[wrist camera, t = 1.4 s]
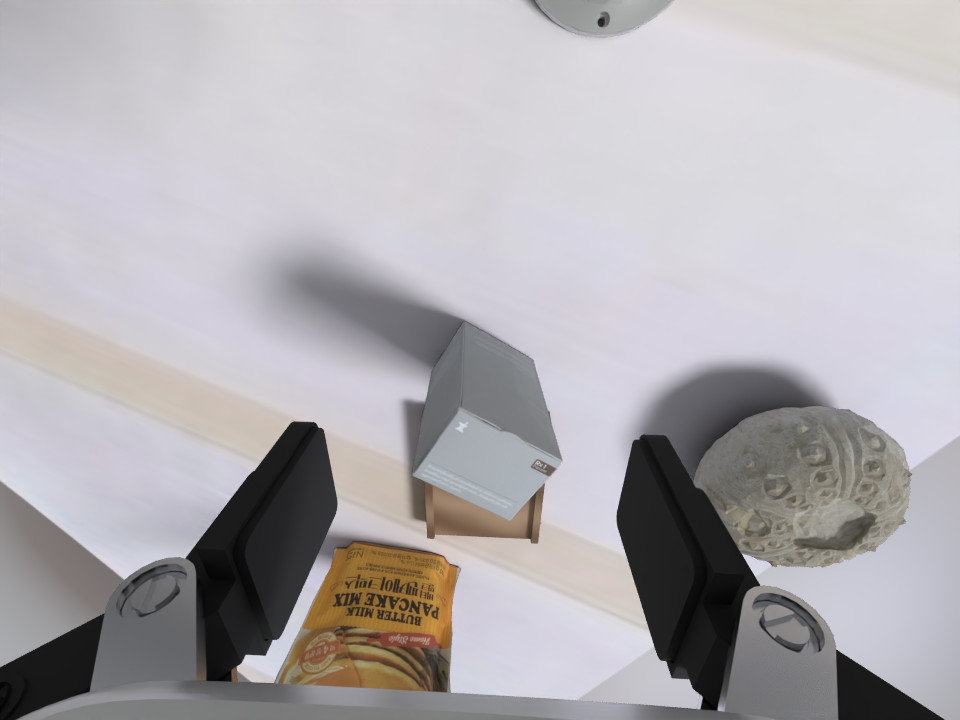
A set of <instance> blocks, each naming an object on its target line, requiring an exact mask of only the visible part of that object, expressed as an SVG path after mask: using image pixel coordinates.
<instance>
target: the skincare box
mask: <svg viewBox="0 0 960 720" xmlns="http://www.w3.org/2000/svg"><path fill="white" fill-rule="evenodd" d="M562 463H563V460H562V457H561V454H560V450H559V447H558V443H557V440H556V437H555V433H554V430H553V427H552V423H551V420H550V417H549V413H548V410H547V406H546V403H545V399H544V396H543V392H542V389H541V385H540V382H539V378H538V375H537V371H536V368H535V364H534V360H532V359H531V358H529V357H527V356H526V355H524V354H522V353H520V352H519V351H517V350H515V349H513V348H511V347H510V346H508V345H506V344H504V343H503V342H501V341H499V340H497V339H496V338H494V337H492V336H490V335H489V334H487V333H485V332H483V331H482V330H480V329H478V328H476V327H474V326H473V325H471V324H469V323H467V322H465V321H464V322H463V323H462V325H461V326H460V328H459V329H458V331H457V332H456V334H455V336H454V337H453V339H452V340H451V342H450V343H449V345H448V346H447V348H446V350H445V351H444V353H443V354H442V356H441V357H440V359H439V360H438V362H437V363H436V365H435V366H434V368H433V370H432V373H431V377H430V382H429V387H428V393H427V398H426V403H425V408H424V413H423V418H422V423H421V428H420V433H419V439H418V444H417V449H416V454H415V459H414V465H413V470H412V476H414V477H416V478H418V479H421V480H423V481H425V482H427V483H429V484H432V485H434V486H436V487H438V488H440V489H442V490H444V491H446V492H448V493H451V494H453V495H455V496H457V497H459V498H461V499H463V500H465V501H467V502H470V503H472V504H474V505H476V506H478V507H480V508H483V509H485V510H487V511H489V512H491V513H494V514H496V515H498V516H500V517H502V518H504V519H507V520H508V521H510V520H511V519H512V518H513V517H514V516H515V515H516V513H517V512H518V511H519V510H520V509H521V508H522V507H523V506H524V505H525V503H526V502H527V501H528V500H529V499H530V498H531V497H532V496H533V495H534V494H535V493H536V491H537V490H538V489H539V488H540V487H541V486H542V485H543V484H544V483H545V482H546V480H547V479H548V478H549V477H550V476H551V475H552V474H553V473H554V472H555V471H556V470H557V468H558V467H559V466H560V465H561V464H562Z"/></svg>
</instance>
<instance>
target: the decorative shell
mask: <svg viewBox="0 0 960 720" xmlns="http://www.w3.org/2000/svg"><path fill="white" fill-rule="evenodd" d="M911 475H912V474H911V473H910V472H909V466H908V464H907V461H906V456H905V453H904V449H903V448H902V447H901V446H900V445H899V444H898V443H897V442H896V441H895V440H894V439H893V438H891V437H890V436H889V435H888V434H887V433H885V432H884V431H883V430H881V429H880V428H878V427H877V426H876V425H875V424H874V423H873V422H872V421H870V420H868V419H865V418H863V417H861V416H859V415H857V414H855V413H854V412H852V411H850V410H847V409H836V408H830V407H824V406H810V407H804V408H795V407H784V408H780V409H774V410H769V411H766V412H763V413H760V414H756V415H753V416H750V417H747V418H745V419H744V420H742V421H741V422H739V424H738V425H737V426H735V427H734V428H732V429H731V430H730V431H729V432H727V433H726V434H724V435H723V436H722V437H721V438H719V439H717V440H716V441H715V442H714V443H713V444H712V446H711V448H710V449H708V450H707V451H706V453H705V454H704V456H703V458H702V459H701V461H700V462H699V466H698V468H697V470H696V472H695V476H694V480H693V483H694V485H695V487H696V488H700V489H702V490H703V491H704V492H705V493H706V495H707V496H708V498H709V500H710V501H711V503H712V505H713V506H714V508H715V510H716V511H717V513H718V515H719V517H720V518H721V520H722V522H723V523H724V525H725V527H726V528H727V530H728V532H729V533H730V535H731V537H732V539H733V540H734V542H735V544H736V545H737V547H738V549H739V550H740V552H741V553H742V554H745V555H749V556H752V557H754V558H756V559H757V560H763V561H767V562H769V563H770V564H771V565H772V566H774V567H777V565H782V566H786V567H790V566H791V567H812V568H813V567H817V566H821V567H826V566H829V565H831V564H833V563H841V562H842V561H844V560H850V559H852V558H854V557H856V555H857V554H863V553H865V552H867V551H876V548H877V547H878V546H879V545H880V544H882V543H883V542H885V541H886V540H887V538H888V537H889V536H891V535H892V534H893V533H894V532H895V531H896V530H897V529H898V527H899V525H901V524H905V523H906V521H905V519H904V514H905V512H906V509H907V508H908V503H909V495H910V481H911V478H910V476H911Z"/></svg>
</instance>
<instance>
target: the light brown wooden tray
mask: <svg viewBox="0 0 960 720" xmlns="http://www.w3.org/2000/svg"><path fill="white" fill-rule="evenodd" d="M424 408H425V407H424ZM423 413H424V410H423ZM423 413H422V417H421V423H422V418H423ZM548 413H549V412H548ZM549 417H550V413H549ZM550 420H551V418H550ZM424 485H425V503H426V522H427V538H430V539H434V537H435V535H456V536H478V537H500V538H521V539H531V543H537V544H538V538H539V529H540V520H541V512H542V503H543V494H544V486H545V483H544V484H543V485H542V486H541V487H540V488H539V489H538V490H537V491H536V493H535V494H534V495H533V496H532V497H531V498H530V499H529V500H528V501H527V502H526V503H525V505H524V506H523V507H522V508H521V509H520V510H519V511H518V512H517V513H516V515H515V516H514V517H513V518H512V519H511V520H510V521H508V520H507V519H504V518H502V517H500V516H498V515H496V514H494V513H491V512H489V511H487V510H485V509H483V508H480V507H478V506H476V505H474V504H472V503H470V502H467V501H465V500H463V499H461V498H459V497H457V496H455V495H453V494H451V493H448V492H446V491H444V490H442V489H440V488H438V487H436V486H434V485H432V484H429V483H427V482H425V481H424Z"/></svg>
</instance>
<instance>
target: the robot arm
mask: <svg viewBox="0 0 960 720" xmlns="http://www.w3.org/2000/svg"><path fill="white" fill-rule="evenodd" d="M535 1H536V3H537V4H538V6H539V7H540V9H541V10H542V11H543V12H544V13H545V14H546V15H547V16H548V17H550V18H551V19H552V20H553V21H554V22H555V23H557V24H558V25H560V26H561V27H563V28H565V29H566V30H568V31H570V32H573V33H576V34H579V35H582V36H586V37H599V38H605V37H611V36H617V35H622V34H624V33H627V32H630V31H632V30H635V29H637V28H639V27H641V26H642V25H644V24H646V23H647V22H649V21H650V20H652V19H653V18H655V17H656V16H657V15H659V14H660V13H661V12H662V11H663V10H664V9H666V8H667V7H668V6H669V5H670V4H671V3H672V2H673V1H674V0H535ZM598 19H603V21H604V26H603V27H599V26H598V23H597V22H598ZM336 511H337V496H336V491H335V486H334V481H333V476H332V470H331V465H330V460H329V455H328V449H327V444H326V439H325V434H324V430H323V429H322V428H318V426H317V424H316V423H314V422H295V421H294V422H292V423H291V424H290V425H289V426H288V427H287V429H286V430H285V431H284V433H283V434H282V435H281V437H280V438H279V439H278V441H277V442H276V443H275V445H274V446H273V447H272V449H271V450H270V451H269V453H268V454H267V455H266V457H265V458H264V459H263V461H262V462H261V463H260V465H259V466H258V467H257V468H256V470H255V471H253V472H252V473H251V474H250V475H249V476H248V477H247V478H246V480H245V481H244V482H243V484H242V485H241V486H240V488H239V489H238V490H237V491H236V493H235V494H234V495H233V497H232V498H231V499H230V501H229V502H228V503H227V505H226V506H225V507H224V509H223V510H222V511H221V512H220V514H219V515H218V516H217V518H216V519H215V520H214V522H213V523H212V524H211V526H210V527H209V528H208V530H207V531H206V532H205V533H204V535H203V536H202V537H201V539H200V540H199V541H198V543H197V544H196V545H195V547H194V548H193V549H192V550H191V552H190V553H189V554H188V556H187V557H186V558H185V559H184V558H180V557H174V558H166V559H162V560H158V561H155V562H153V563H151V564H148V565H146V566H144V567H142V568H140V569H139V570H137V571H136V572H134V573H133V574H131V575H130V576H129V577H128V578H126V579H125V580H124V581H123V582H122V583H121V584H120V585H119V586H118V587H117V588H116V590H115V591H114V592H113V594H112V595H111V596H110V598H109V601H108V603H107V606H106V609H105V613H104V614H102V615H100V616H98V617H96V618H94V619H92V620H91V621H89V622H87V623H85V624H83V625H81V626H79V627H77V628H75V629H73V630H71V631H69V632H67V633H65V634H64V635H62V636H60V637H58V638H56V639H54V640H52V641H50V642H49V643H46V644H44V645H42V646H40V647H39V648H37V649H35V650H33V651H31V652H29V653H27V654H25V655H23V656H21V657H19V658H17V659H15V660H14V661H12V662H10V663H8V664H6V665H4V666H2V667H0V720H944V719H943V718H941V717H940V716H938V715H937V714H935V713H934V712H932V711H931V710H929V709H927V708H926V707H924V706H923V705H921V704H920V703H918V702H917V701H915V700H914V699H912V698H910V697H909V696H907V695H906V694H904V693H903V692H901V691H900V690H898V689H897V688H895V687H893V686H892V685H890V684H889V683H887V682H886V681H884V680H883V679H881V678H880V677H878V676H876V675H875V674H873V673H872V672H870V671H869V670H867V669H866V668H864V667H863V666H861V665H859V664H858V663H856V662H855V661H853V660H852V659H850V658H848V657H847V656H845V655H844V654H842V653H841V652H839V651H838V650H836V645H835V640H834V637H833V634H832V632H831V630H830V628H829V627H828V625H827V623H826V622H825V620H824V619H823V618H822V617H821V616H820V615H819V614H818V612H817V611H816V610H815V609H813V608H812V607H811V606H810V605H809V604H807V603H806V602H805V601H804V600H802V599H800V598H799V597H797V596H795V595H793V594H792V593H790V592H788V591H785V590H782V589H780V588H777V587H771V586H760V584H759V582H758V581H757V579H756V577H755V576H754V574H753V572H752V571H751V569H750V567H749V566H748V564H747V562H746V561H745V559H744V557H743V555H742V554H741V552H740V550H739V549H738V547H737V545H736V544H735V542H734V540H733V539H732V537H731V535H730V533H729V532H728V530H727V528H726V527H725V525H724V523H723V522H722V520H721V518H720V517H719V515H718V513H717V511H716V510H715V508H714V506H713V505H712V503H711V501H710V500H709V498H708V496H707V495H706V493H705V492H704V491H703V490H702V489H700V488H696V487H695V485H694V483H693V482H692V480H691V478H690V476H689V475H688V473H687V471H686V469H685V468H684V466H683V464H682V462H681V461H680V459H679V457H678V455H677V454H676V452H675V450H674V448H673V447H672V445H671V443H670V441H669V440H668V438H667V437H666V436H664V435H642V436H641V437H640V440H634V441H633V444H632V448H631V453H630V457H629V461H628V466H627V470H626V475H625V479H624V484H623V488H622V492H621V497H620V501H619V506H618V510H617V526H618V530H619V533H620V536H621V540H622V543H623V546H624V549H625V553H626V556H627V559H628V562H629V566H630V569H631V572H632V575H633V579H634V582H635V585H636V588H637V592H638V595H639V598H640V601H641V604H642V608H643V611H644V614H645V617H646V621H647V624H648V627H649V630H650V634H651V637H652V640H653V643H654V647H655V650H656V653H657V656H658V657H659V659H660V660H661V661H666V662H667V665H668V668H669V671H670V674H671V677H672V678H679V679H690V682H691V685H692V688H693V689H694V690H695V691H696V692H698V693H699V694H700V695H699V699H698V704H697V708H696V709H689V708H677V707H665V706H653V705H640V704H625V703H608V702H593V701H578V700H562V699H546V698H530V697H514V696H496V695H479V694H462V693H445V692H427V691H410V690H392V689H374V688H354V687H335V686H316V685H296V684H277V683H254V682H238V679H237V666H238V665H239V664H241V663H242V661H243V659H244V657H245V655H263V656H266V653H267V651H268V649H269V647H270V645H271V643H272V640H277V639H279V638H280V636H281V635H282V633H283V631H284V629H285V626H286V624H287V622H288V620H289V617H290V615H291V613H292V611H293V608H294V606H295V604H296V602H297V600H298V597H299V595H300V593H301V591H302V588H303V586H304V584H305V582H306V579H307V577H308V575H309V573H310V570H311V568H312V566H313V564H314V561H315V559H316V557H317V555H318V552H319V550H320V548H321V546H322V544H323V541H324V539H325V537H326V535H327V532H328V530H329V528H330V526H331V523H332V521H333V519H334V517H335V514H336Z"/></svg>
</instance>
